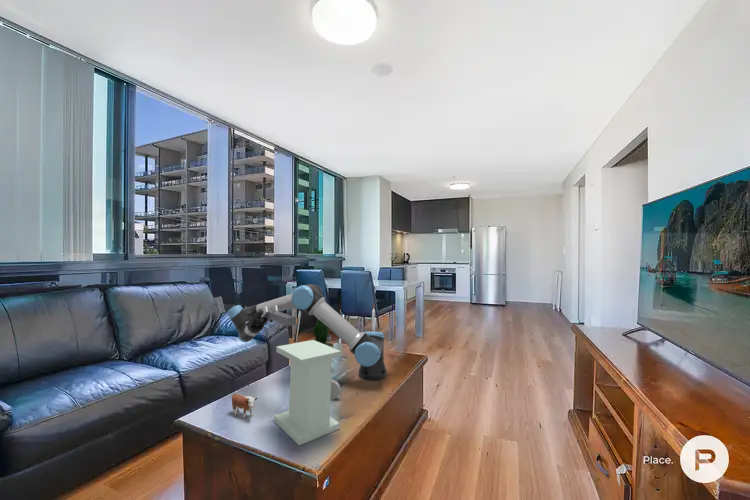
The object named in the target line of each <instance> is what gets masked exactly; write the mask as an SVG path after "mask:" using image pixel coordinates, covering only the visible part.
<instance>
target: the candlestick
mask: <svg viewBox="0 0 750 500" xmlns="http://www.w3.org/2000/svg"><path fill="white" fill-rule="evenodd" d="M372 308H373V309H372V311H371V331H375V332H376V328H375V327H376V310H375V304H373V306H372Z"/></svg>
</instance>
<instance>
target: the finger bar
mask: <svg viewBox="0 0 750 500" xmlns="http://www.w3.org/2000/svg"><path fill="white" fill-rule="evenodd" d="M262 309H263V308H262ZM262 309H259V312H260V311H261V310H262ZM267 309H268V312H267V313H266V314H265V315H264V316H263V317H266V318H268V319H271V320H273V322H276V323H278V324H281V325H284V326H287V327H288V326H295V325H298V320H299V319H298V317H295V316H294V315H290V314H288V313H284V312H282V311H280V312H278V311H275V310H272V309H269V308H267Z"/></svg>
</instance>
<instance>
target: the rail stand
mask: <svg viewBox="0 0 750 500" xmlns="http://www.w3.org/2000/svg"><path fill="white" fill-rule="evenodd" d="M275 347H276V351H275V352H276V353H277V354H280V355H281V356H284V357H285V358H287V359H289V361H290V363H289V364H290V366H289V367H290V369H289V370H290V371H289V372H290V373H289V399H288V400H289V401H288V404H289V405H288V410H287V411H284V412H280V413H278V414H275V415H274V416H273V418H274V419H273V420H274V422H275V424H277V425H278V426H279V427H280V428H281V430H282V431H284V432H285V433H286V434H287V435H288V436H289V437H290V438H291V439H292V440H293V441H294V442H295V444H297V445H298V446H301V445H305V444H306V443H309V442H311V441H313V440H316V439H319V438H320V437H323V436H325V435H327V434H330V433H332V432H334V431H337V430H339V429H340V422H339V421H337V420H336V419H335V418H333V417H332V416H331V400H330V395H331V380H332V363H331V359H332V360H333V359H337V358H342V357H341V356H342V351H341V350H340V349H337V348H335V347H334V348H332V347H329V346H327V345H325V344H322V343H320V342H317V341H316V339H312V340H306V341H305V340H304V341H299V342H293V343H288V344H283V345H282V344H281V345H278V346H275Z"/></svg>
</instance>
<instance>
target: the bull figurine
mask: <svg viewBox="0 0 750 500" xmlns="http://www.w3.org/2000/svg"><path fill="white" fill-rule="evenodd" d="M257 400H258V397H253V396H247V395H246V396H245V395H242V394H238V393H234V394H232V397H231V409H232V411H234V416H238V415H239V414H238V412H240V410H243V415H242V417H243V418H244V419H246V417H247V416H246V413H247V412H249V416H250V417H253V416H254V414H253V409H252V408H254V407H255V401H257Z"/></svg>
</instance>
